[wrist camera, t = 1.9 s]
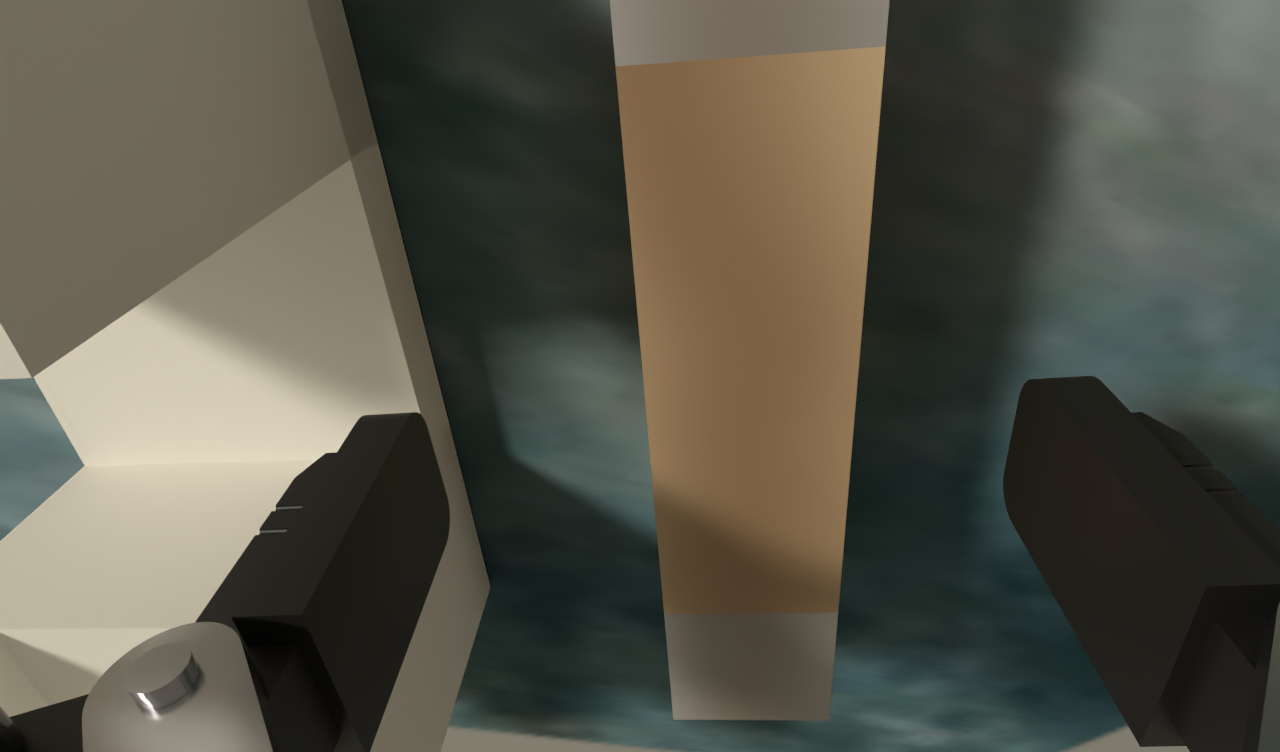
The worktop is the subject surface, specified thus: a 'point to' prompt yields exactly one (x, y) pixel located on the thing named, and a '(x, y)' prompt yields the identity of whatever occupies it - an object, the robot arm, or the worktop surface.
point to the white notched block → (200, 323)
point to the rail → (750, 325)
